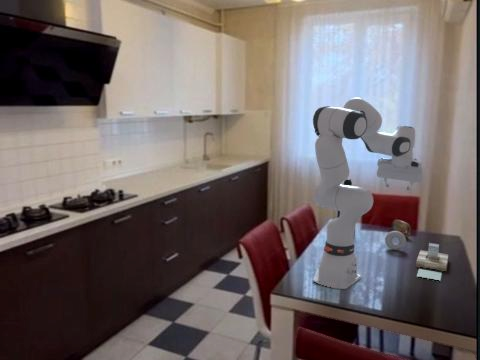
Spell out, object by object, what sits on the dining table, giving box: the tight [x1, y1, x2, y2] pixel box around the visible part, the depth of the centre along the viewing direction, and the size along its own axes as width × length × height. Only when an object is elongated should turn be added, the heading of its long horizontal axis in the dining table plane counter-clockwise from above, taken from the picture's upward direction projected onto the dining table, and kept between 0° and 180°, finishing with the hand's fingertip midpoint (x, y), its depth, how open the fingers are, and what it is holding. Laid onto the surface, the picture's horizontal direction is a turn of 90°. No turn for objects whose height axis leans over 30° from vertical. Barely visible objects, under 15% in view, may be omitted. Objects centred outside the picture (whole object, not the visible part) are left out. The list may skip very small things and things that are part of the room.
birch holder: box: [415, 249, 449, 272], centre depth 180 cm, size 16×12×3 cm
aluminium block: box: [427, 242, 440, 260], centre depth 179 cm, size 4×4×9 cm
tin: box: [391, 219, 412, 238], centre depth 222 cm, size 15×3×8 cm, turn 10°
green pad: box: [416, 268, 442, 282], centre depth 166 cm, size 9×9×1 cm
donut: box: [384, 230, 407, 251], centre depth 197 cm, size 10×3×10 cm, turn 69°
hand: (397, 188), depth 185 cm, fingers open, 8 cm apart
